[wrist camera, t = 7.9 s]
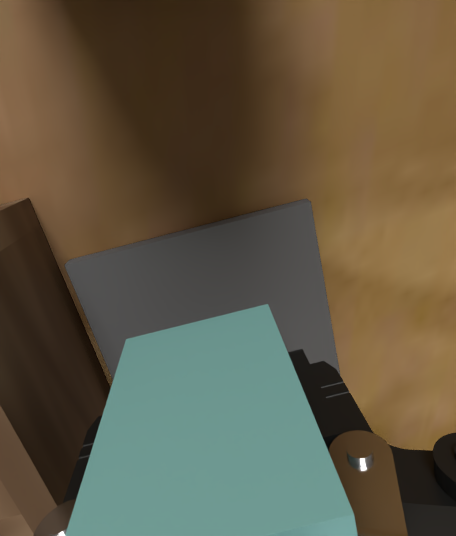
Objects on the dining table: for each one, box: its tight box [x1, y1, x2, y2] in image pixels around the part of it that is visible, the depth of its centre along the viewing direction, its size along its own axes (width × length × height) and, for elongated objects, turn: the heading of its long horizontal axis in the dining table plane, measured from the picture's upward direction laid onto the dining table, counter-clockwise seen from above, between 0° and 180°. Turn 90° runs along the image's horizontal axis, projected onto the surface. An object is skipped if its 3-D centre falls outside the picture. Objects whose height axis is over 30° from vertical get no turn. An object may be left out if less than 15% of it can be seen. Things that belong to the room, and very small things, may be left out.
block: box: [65, 304, 358, 536], centre depth 10 cm, size 4×4×7 cm
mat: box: [65, 199, 340, 380], centre depth 16 cm, size 9×9×1 cm
